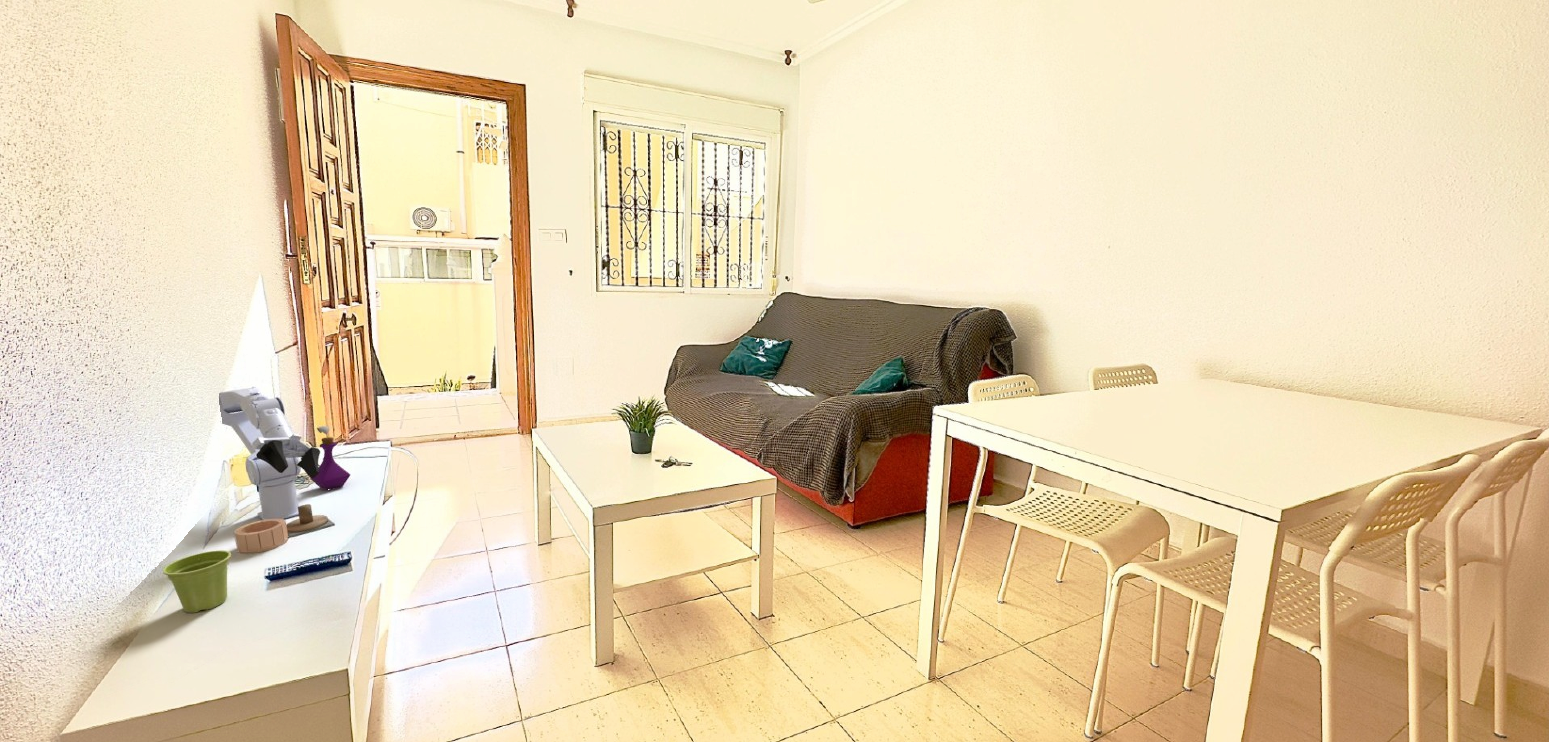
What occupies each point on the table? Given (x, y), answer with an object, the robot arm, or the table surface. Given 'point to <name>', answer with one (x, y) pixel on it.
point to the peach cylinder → (261, 536)
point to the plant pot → (200, 579)
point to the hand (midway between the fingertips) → (299, 472)
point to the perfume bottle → (329, 465)
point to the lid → (306, 520)
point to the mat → (328, 524)
